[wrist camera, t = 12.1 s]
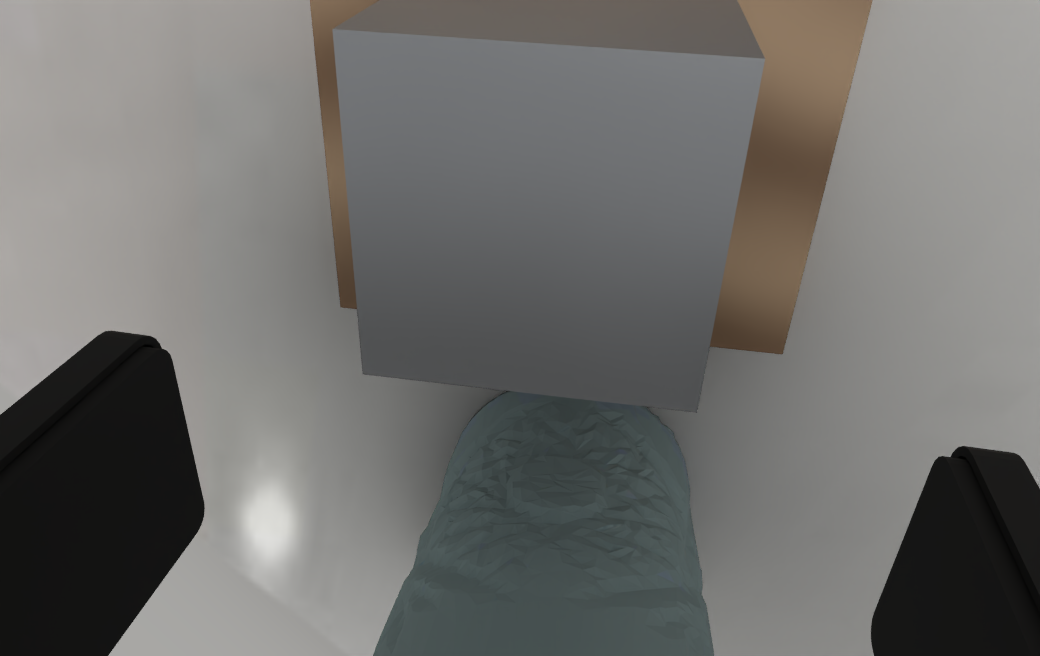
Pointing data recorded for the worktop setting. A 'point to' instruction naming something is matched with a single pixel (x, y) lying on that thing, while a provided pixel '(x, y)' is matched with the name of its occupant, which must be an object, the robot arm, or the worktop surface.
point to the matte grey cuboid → (545, 189)
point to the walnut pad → (767, 172)
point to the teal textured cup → (557, 540)
